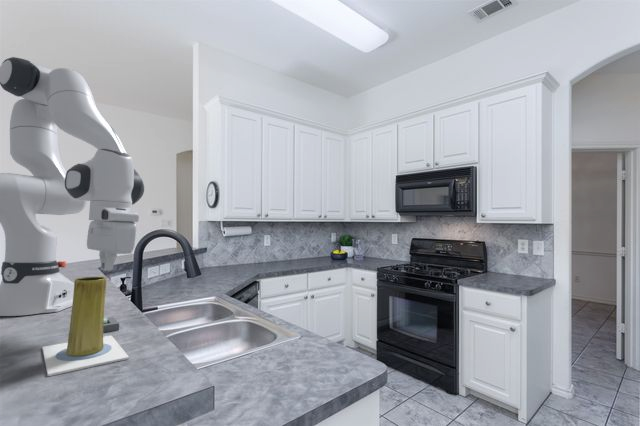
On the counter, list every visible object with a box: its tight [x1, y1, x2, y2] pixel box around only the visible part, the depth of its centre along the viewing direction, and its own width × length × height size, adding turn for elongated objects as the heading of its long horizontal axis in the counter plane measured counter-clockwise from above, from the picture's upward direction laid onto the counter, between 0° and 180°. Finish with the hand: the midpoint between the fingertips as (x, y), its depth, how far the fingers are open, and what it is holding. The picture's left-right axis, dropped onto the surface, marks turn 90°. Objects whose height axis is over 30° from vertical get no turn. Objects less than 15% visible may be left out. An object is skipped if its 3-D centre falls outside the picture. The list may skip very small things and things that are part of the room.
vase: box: [66, 276, 107, 356], centre depth 64 cm, size 6×6×14 cm
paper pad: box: [41, 335, 130, 377], centre depth 64 cm, size 16×12×1 cm
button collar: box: [103, 316, 120, 333], centre depth 79 cm, size 7×7×2 cm
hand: (106, 270), depth 79 cm, fingers closed
